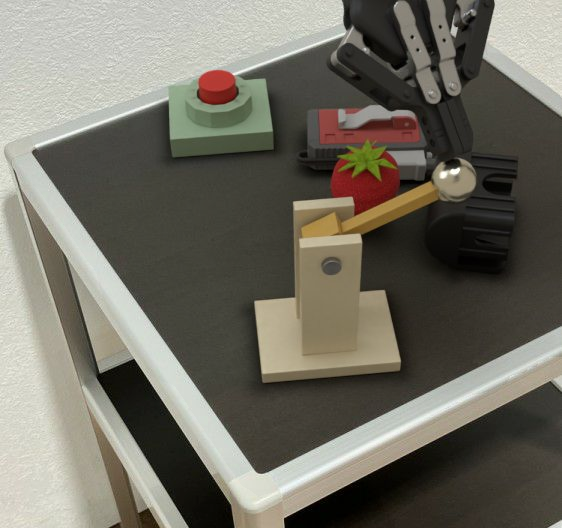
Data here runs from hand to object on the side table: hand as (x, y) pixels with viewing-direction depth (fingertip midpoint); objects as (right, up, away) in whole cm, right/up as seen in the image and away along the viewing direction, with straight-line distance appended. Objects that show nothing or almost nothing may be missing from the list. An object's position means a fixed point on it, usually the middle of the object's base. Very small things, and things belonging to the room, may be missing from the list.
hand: (456, 156), depth 66 cm
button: (-18, +13, +29) cm, 36 cm away
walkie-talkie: (-1, +6, +28) cm, 29 cm away
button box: (-18, +10, +32) cm, 38 cm away
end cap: (+4, -3, +21) cm, 21 cm away
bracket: (-8, -12, +13) cm, 20 cm away
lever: (-3, -4, +4) cm, 7 cm away
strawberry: (-5, -2, +22) cm, 22 cm away
